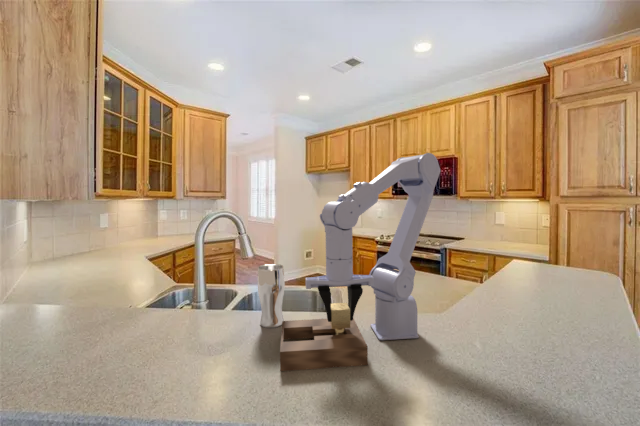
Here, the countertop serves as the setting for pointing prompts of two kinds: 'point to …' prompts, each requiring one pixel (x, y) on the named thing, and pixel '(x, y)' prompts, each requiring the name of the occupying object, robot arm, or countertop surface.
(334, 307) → the brass peg
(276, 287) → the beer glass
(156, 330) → the countertop surface
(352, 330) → the keyhole board
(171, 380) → the countertop surface
